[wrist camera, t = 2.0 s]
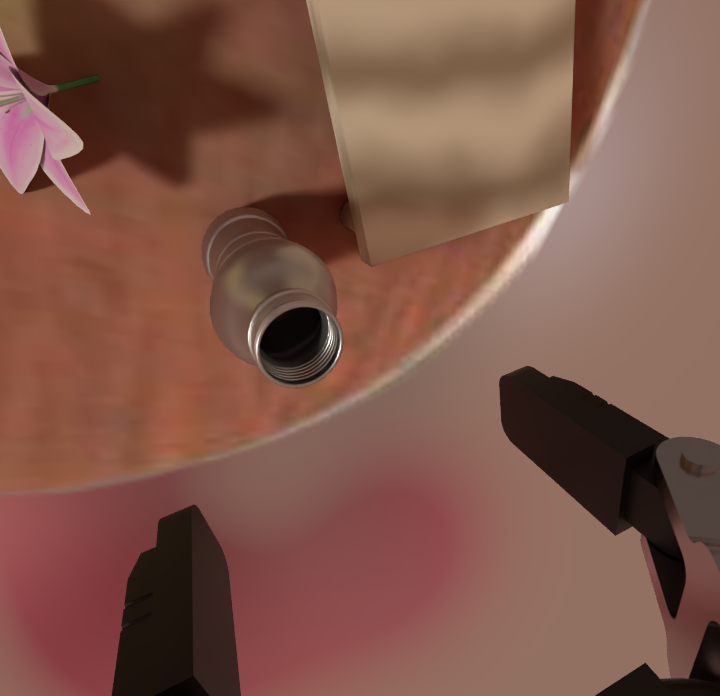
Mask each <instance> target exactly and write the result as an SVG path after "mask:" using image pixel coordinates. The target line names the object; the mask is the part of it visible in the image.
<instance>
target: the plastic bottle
mask: <svg viewBox="0 0 720 696" xmlns="http://www.w3.org/2000/svg"><path fill="white" fill-rule="evenodd" d="M202 261H203V265H204V268H205V270H206V272H207V275H208V276H209V277H210V279H211V280H212V282H213V285H212V290H211V295H210V316H211V320H212V325H213V328H214V330H215V332H216V334H217V336H218V338H219V339H220V341H221V342H222V343H223V345H224V346H225V347H226V348H227V349H228V350H229V351H230V352H232V353H233V354H234V355H235V356H237V357H238V358H239V359H241V360H243V361H244V362H246V363H248V364H250V365H253V366H257V367H259V369H260V370H261V371H262V373H263V374H264V375H265V376H266V377H267V378H268V379H269V380H270V381H272V382H274V383H276V384H277V385H280V386H283V387H288V388H301V387H306V386H309V385H312V384H314V383H316V382H318V381H320V380H321V379H323V378H324V377H326V376H327V375H328V374H329V373H330V372H331V371H332V369H333V368H334V367H335V366H336V364H337V362H338V360H339V358H340V356H341V353H342V350H343V332H342V329H341V326H340V323H339V321H338V319H337V318H336V315H337V294H336V287H335V283H334V280H333V277H332V275H331V273H330V271H329V269H328V267H327V266H326V265H325V263H324V262H323V261H322V260H321V259H320V257H318V256H317V255H316V254H315V253H313V252H312V251H311V250H309V249H307V248H306V247H304V246H302V245H300V244H298V243H296V242H293V241H289V238H288V235H287V233H286V231H285V230H284V228H283V226H282V225H281V224H280V223H279V221H278V220H277V219H276V218H274V217H273V216H272V215H271V214H269V213H267V212H265V211H263V210H260V209H257V208H252V207H240V208H234V209H232V210H229V211H226V212H225V213H223V214H221V215H220V216H218V217H217V218H216V219H215V220H214V221H213V222H212V223H211V225H210V226H209V228H208V229H207V231H206V233H205V236H204V238H203V243H202Z"/></svg>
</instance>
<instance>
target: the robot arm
mask: <svg viewBox="0 0 720 696" xmlns="http://www.w3.org/2000/svg"><path fill="white" fill-rule="evenodd" d="M499 387H500V406H501V422H502V426H503V429H504V431H505V433H506V435H507V437H508V438H509V440H510V441H511V442H512V443H513V444H514V445H515V446H516V447H517V448H519V449H520V450H521V451H522V452H523V453H524V454H525V455H526V456H527V457H528V458H530V459H531V460H532V461H533V462H534V463H535V464H536V465H537V466H538V467H540V468H541V469H542V470H543V471H544V472H545V473H546V474H547V475H548V476H550V477H551V478H552V479H553V480H554V481H555V482H557V484H559V485H560V486H561V487H562V488H563V489H564V490H565V491H566V492H567V493H569V494H570V495H571V496H572V497H573V498H574V499H575V500H576V501H577V502H579V503H580V504H581V505H582V506H583V507H584V508H585V509H586V510H588V511H589V512H590V513H591V514H592V515H593V516H594V517H595V518H597V519H598V520H599V521H600V522H601V523H602V524H603V525H604V526H605V527H607V528H608V529H609V530H610V531H611V532H612V533H613V534H614V535H615V536H616V535H618V534H619V533H621V532H623V531H625V530H627V529H629V528H630V527H632V526H633V527H634V528H636V529H637V530H638V531H639V532H640V533H641V540H640V541H641V546H642V550H643V553H644V557H645V560H646V563H647V567H648V570H649V574H650V577H651V581H652V584H653V587H654V591H655V594H656V598H657V601H658V605H659V608H660V612H661V615H662V619H663V622H664V625H665V630H666V637H667V657H668V664H669V670H670V675H671V678H669V679H659V677H658V676H657V675H656V674H655V673H654V672H653V671H652V670H651V669H650V667H649V666H648V665H647V664H646V663H644V664H643V665H641V666H640V667H638V668H637V669H635V670H634V671H632V672H631V673H629V674H628V675H626V676H624V677H623V678H621V679H620V680H618V681H617V682H615V683H614V684H612V685H611V686H609V687H608V688H606V689H605V690H603V691H602V692H600V693H598V694H597V695H596V696H720V445H719V444H716V443H714V442H711V441H708V440H704V439H700V438H694V437H676V438H671V439H669V438H668V437H665V436H664V435H662V434H661V433H659V432H657V431H656V430H654V429H652V428H651V427H649V426H647V425H646V424H644V423H642V422H640V421H639V420H637V419H635V418H634V417H632V416H630V415H629V414H627V413H625V412H624V411H622V410H620V409H619V408H617V407H615V406H613V405H612V404H608V403H607V401H605V400H604V399H602V398H600V397H599V396H597V395H595V396H594V395H593V394H592V392H590V391H588V390H587V389H585V388H583V387H582V386H580V385H578V384H577V383H575V382H572V381H569V380H565V379H562V378H558V377H555V376H552V377H550V378H549V377H547V376H546V375H544V374H543V373H541V372H539V371H538V370H536V369H535V368H533V367H530V366H525V367H523V368H521V369H518V370H516V371H513V372H511V373H509V374H506V375H504V376H502V377H501V378H500V382H499ZM230 591H231V590H230V580H229V572H228V566H227V562H226V559H225V556H224V553H223V550H222V548H221V546H220V544H219V542H218V541H217V539H216V537H215V536H214V534H213V532H212V530H211V529H210V527H209V526H208V523H207V522H206V520H205V518H204V516H203V515H202V513H201V511H200V510H199V508H198V507H197V506H196V505H192V506H189V507H187V508H185V509H183V510H180V511H177V512H175V513H173V514H170V515H168V516H166V517H163V518H161V519H160V520H159V523H158V532H157V544H156V547H155V548H152V549H150V550H148V551H145V552H143V553H141V554H140V556H139V559H138V561H137V562H136V564H135V566H134V568H133V570H132V572H131V574H130V576H129V578H128V582H127V589H126V597H125V609H124V611H123V618H122V625H121V626H122V631H121V633H120V640H119V647H118V654H117V662H116V669H115V676H114V683H113V690H112V696H241V692H240V682H239V672H238V662H237V652H236V642H235V632H234V621H233V611H232V601H231V592H230Z"/></svg>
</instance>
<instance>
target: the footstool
mask: <svg viewBox="0 0 720 696" xmlns="http://www.w3.org/2000/svg"><path fill="white" fill-rule="evenodd" d="M575 1H576V0H306V2H307V7H308V11H309V16H310V21H311V25H312V30H313V35H314V40H315V44H316V49H317V54H318V58H319V63H320V68H321V73H322V77H323V82H324V87H325V92H326V96H327V101H328V106H329V110H330V115H331V120H332V125H333V129H334V134H335V139H336V143H337V148H338V153H339V158H340V162H341V167H342V172H343V177H344V181H345V186H346V191H347V195H348V200H349V201H348V202H346V203H345V204H344V205H343V206H342V208H341V210H340V220H341V223H342V224H343V225H344V226H345V227H346V228H348V229H350V230H352V231H354V232H355V233H356V238H357V243H358V247H359V252H360V257H361V260H362V261H363V262H365V263H366V264H368V265H370V266H371V267H372V266H375V265H378V264H381V263H384V262H387V261H390V260H393V259H396V258H399V257H402V256H405V255H408V254H411V253H414V252H417V251H420V250H423V249H426V248H429V247H432V246H435V245H439V244H442V243H445V242H448V241H451V240H454V239H457V238H460V237H463V236H466V235H469V234H472V233H475V232H478V231H481V230H484V229H487V228H490V227H493V226H496V225H499V224H502V223H505V222H509V221H512V220H515V219H518V218H521V217H524V216H527V215H530V214H533V213H536V212H539V211H542V210H545V209H548V208H551V207H554V206H557V205H560V204H563V203H566V202H569V174H570V145H571V116H572V87H573V58H574V30H575Z"/></svg>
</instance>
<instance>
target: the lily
mask: <svg viewBox="0 0 720 696" xmlns="http://www.w3.org/2000/svg"><path fill="white" fill-rule="evenodd" d="M99 80H100V78H99V76H97V75H95V76H91V77H87V78H84V79H80V80H76V81H72V82H68V83H63V84H57V85H47V84H44V83H42V82H40V81H38V80H36V79H34V78H33V77H31V76H29V75H28V74H26V73H25V72H23V71H22V70H20V69H19V68H18V67H17V66H16V65H15V63H14V60H13V58H12V56H11V53H10V51H9V49H8V46H7V44H6V41H5V38H4V36H3V33H2V31H1V28H0V168H1V170H2V171H3V173H4V174H5V176H6V177H7V179H8V180H9V182H10V183H11V184H12V186H13V187H14V188H15V189H16V190H17V191H18V192H19V193H20V194H22V193H24V191H25V190H26V188H27V186H28V184H29V183H30V181H31V180H32V179H33V177H34V175H35V173H36V171H37V169H38V166H39V164H40V166H41V167H42V169H43V171H44V172H45V173H46V174H47V176H48V177H49V178H50V179H51V180H52V181H53V183H54V184H55V185H56V186H57V187H58V188H59V189H60V190H61V191H62V192H63V193H64V194H65V195H66V196H67V197H68V198H69V199H71V200H72V201H73V202H74V203H75V204H76V205H77V206H78V207H80V208H81V209H82V210H84V211H85V212H86V213H88V214H90V211H89V210H88V208H87V206H86V205H85V203H84V201H83V200H82V198H81V196H80V195H79V193H78V191H77V189H76V188H75V186H74V184H73V182H72V180H71V179H70V177H69V175H68V173H67V171H66V170H65V168H64V166H63V164H62V162H61V159H64V158H68V157H71V156H73V155H75V154H78V153H79V152H80V151H81V150H82V149H83V142H82V140H81V139H80V138H79V136H78V135H77V134H76V133H75V132H74V131H73V130H72V129H71V128H70V127H69V126H67V125H66V124H65V123H64V122H63V121H62V120H61V119H59V118H58V117H57V116H56V115H55V114H53V113H52V112H51V111H50V110H49V97H50V94H52V93H53V92H57V91H61V90H65V89H70V88H74V87H78V86H81V85H85V84H89V83H92V82H96V81H99ZM90 215H91V214H90Z"/></svg>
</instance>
